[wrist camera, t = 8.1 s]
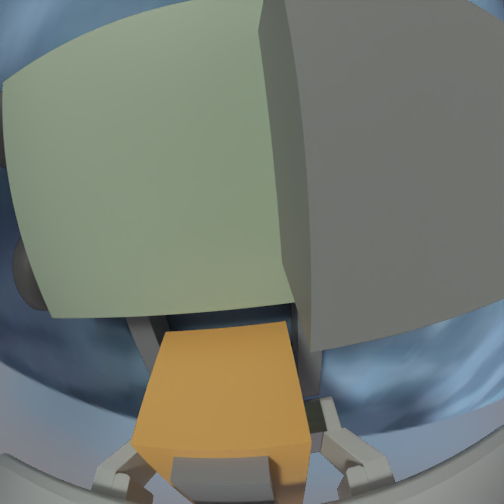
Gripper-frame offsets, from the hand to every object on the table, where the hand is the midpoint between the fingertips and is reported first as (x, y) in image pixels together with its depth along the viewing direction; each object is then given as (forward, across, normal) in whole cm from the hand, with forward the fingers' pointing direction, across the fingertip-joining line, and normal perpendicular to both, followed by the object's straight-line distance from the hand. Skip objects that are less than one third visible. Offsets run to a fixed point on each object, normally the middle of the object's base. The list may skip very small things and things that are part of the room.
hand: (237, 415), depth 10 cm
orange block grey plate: (+2, 0, 0) cm, 2 cm away
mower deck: (+5, -3, -6) cm, 8 cm away
